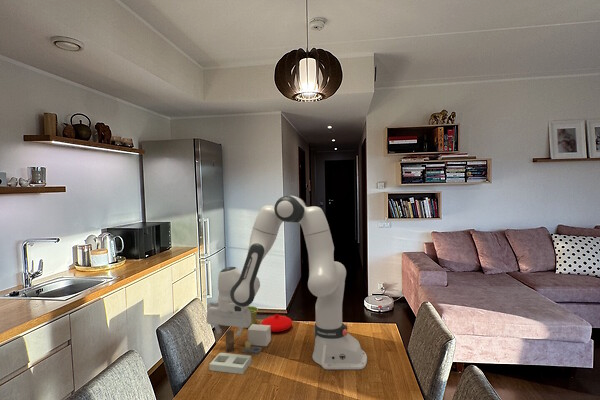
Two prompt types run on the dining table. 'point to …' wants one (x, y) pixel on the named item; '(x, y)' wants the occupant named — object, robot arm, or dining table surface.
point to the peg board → (230, 363)
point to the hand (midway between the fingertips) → (228, 334)
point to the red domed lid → (277, 323)
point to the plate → (251, 348)
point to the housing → (259, 334)
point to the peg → (229, 341)
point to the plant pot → (253, 314)
